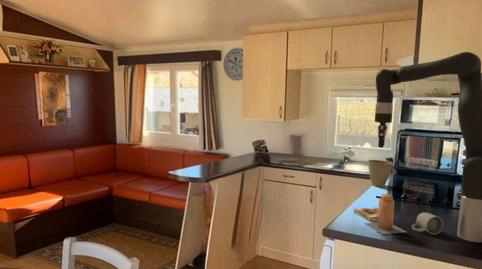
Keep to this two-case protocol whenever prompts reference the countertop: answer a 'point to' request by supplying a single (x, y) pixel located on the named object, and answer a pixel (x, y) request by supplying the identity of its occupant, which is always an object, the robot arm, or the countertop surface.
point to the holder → (367, 213)
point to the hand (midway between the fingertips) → (381, 146)
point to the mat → (385, 232)
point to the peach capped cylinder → (385, 212)
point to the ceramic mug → (428, 223)
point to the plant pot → (379, 172)
